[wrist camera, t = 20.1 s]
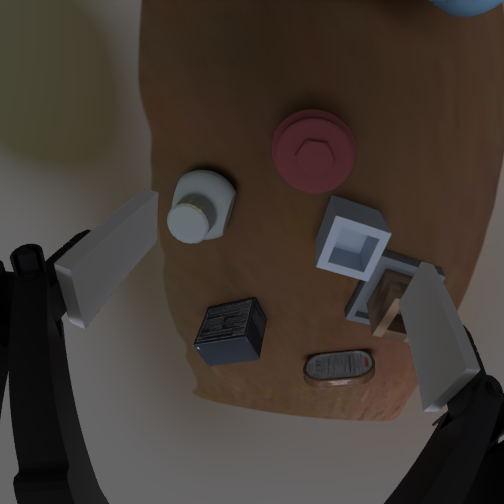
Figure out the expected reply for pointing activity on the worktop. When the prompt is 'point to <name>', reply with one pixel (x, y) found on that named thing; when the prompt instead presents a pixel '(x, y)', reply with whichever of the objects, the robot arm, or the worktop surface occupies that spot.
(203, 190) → the air freshener
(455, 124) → the worktop surface
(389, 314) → the brown open cube box
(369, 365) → the tin
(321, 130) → the mechanical component
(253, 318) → the small box
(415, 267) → the tray
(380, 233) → the block
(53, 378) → the robot arm
